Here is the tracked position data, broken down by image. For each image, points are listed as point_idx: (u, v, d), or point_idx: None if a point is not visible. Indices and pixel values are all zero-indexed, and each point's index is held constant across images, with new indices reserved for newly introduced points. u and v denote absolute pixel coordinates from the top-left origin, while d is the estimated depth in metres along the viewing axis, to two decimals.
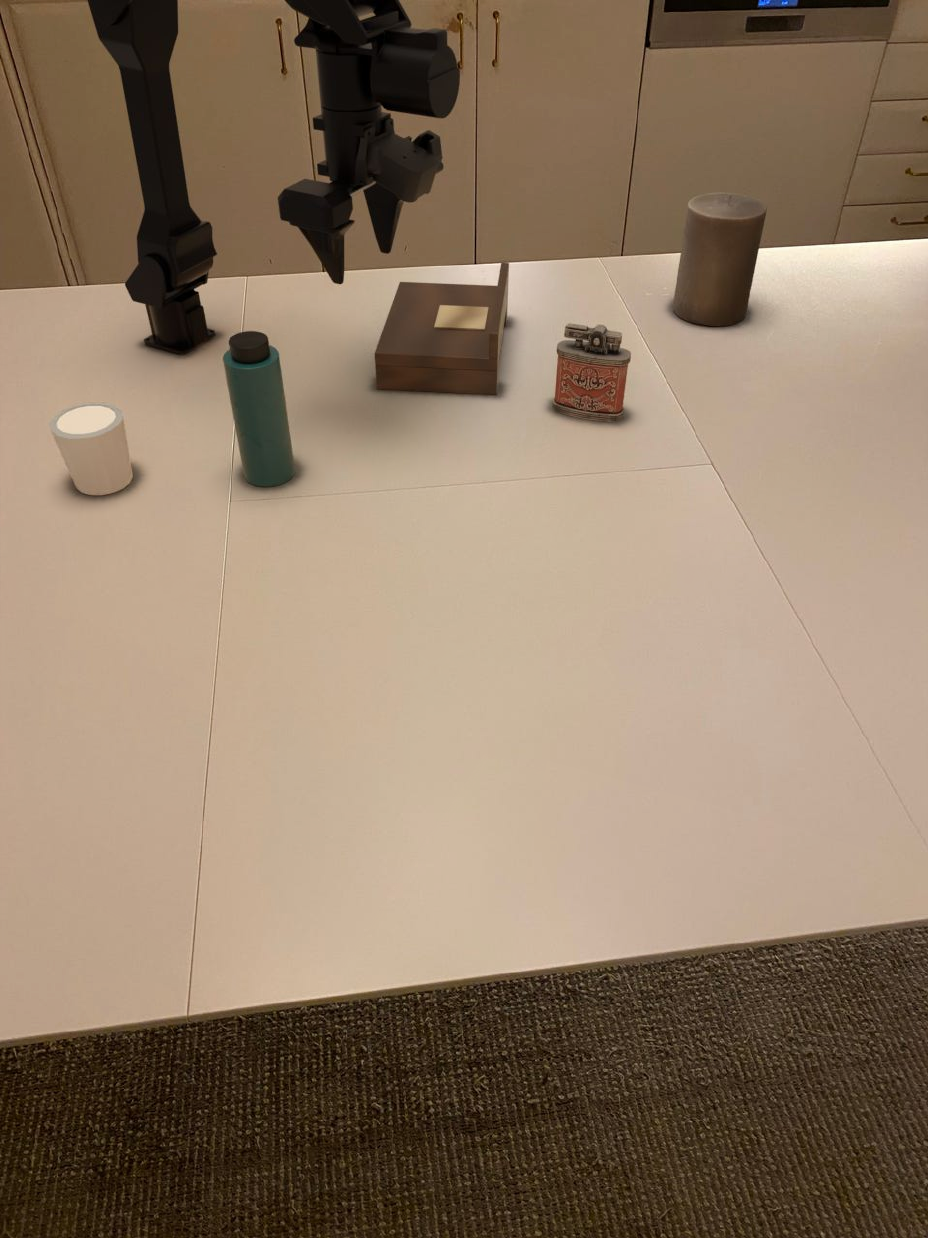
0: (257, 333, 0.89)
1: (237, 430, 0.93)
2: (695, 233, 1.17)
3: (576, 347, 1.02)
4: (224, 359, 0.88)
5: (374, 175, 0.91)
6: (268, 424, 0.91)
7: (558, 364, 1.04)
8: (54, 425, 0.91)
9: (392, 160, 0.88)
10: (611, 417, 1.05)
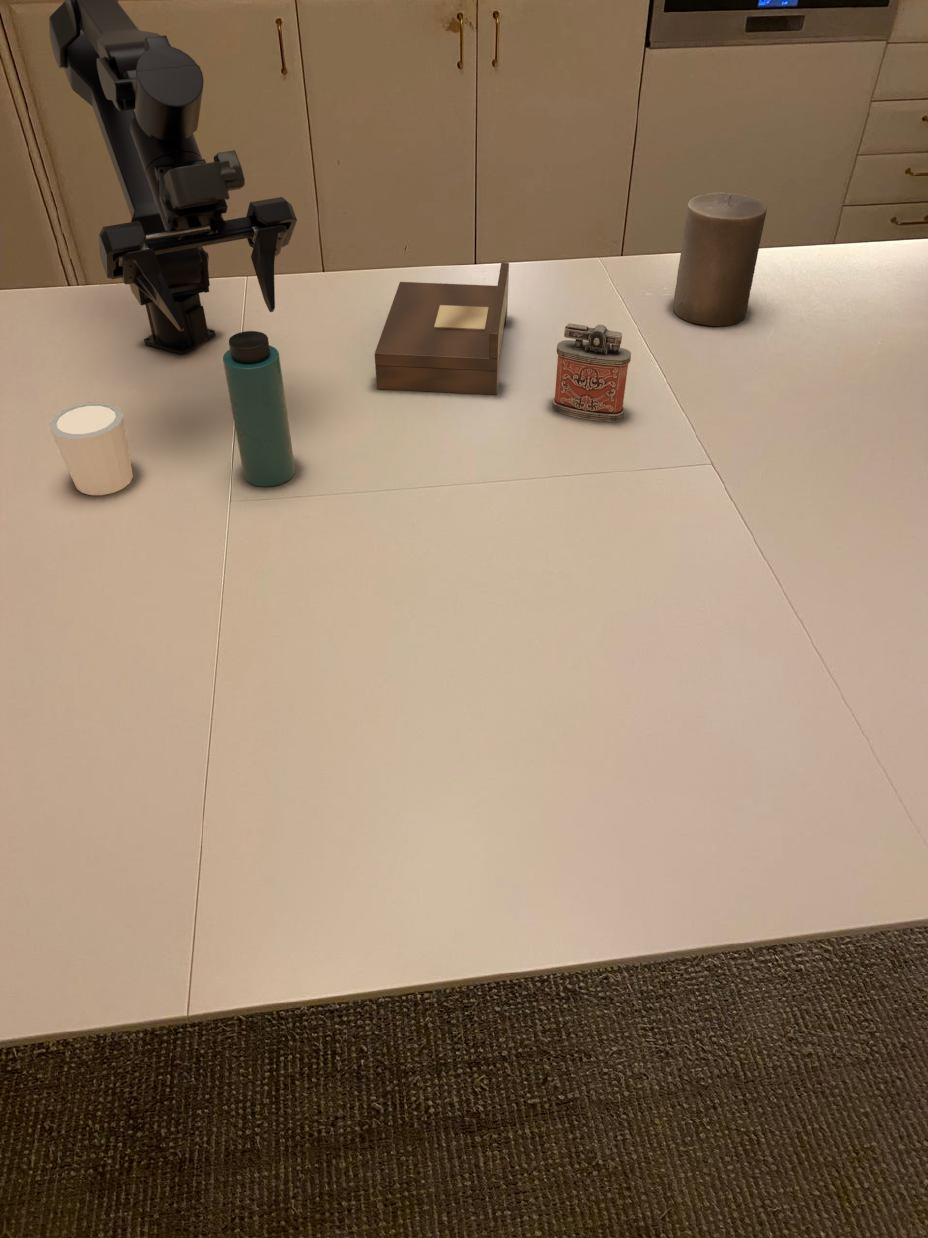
0: (257, 333, 0.89)
1: (237, 430, 0.93)
2: (695, 233, 1.17)
3: (576, 347, 1.02)
4: (224, 359, 0.88)
5: (172, 204, 0.89)
6: (268, 424, 0.91)
7: (558, 364, 1.04)
8: (54, 425, 0.91)
9: (165, 175, 0.87)
10: (611, 417, 1.05)
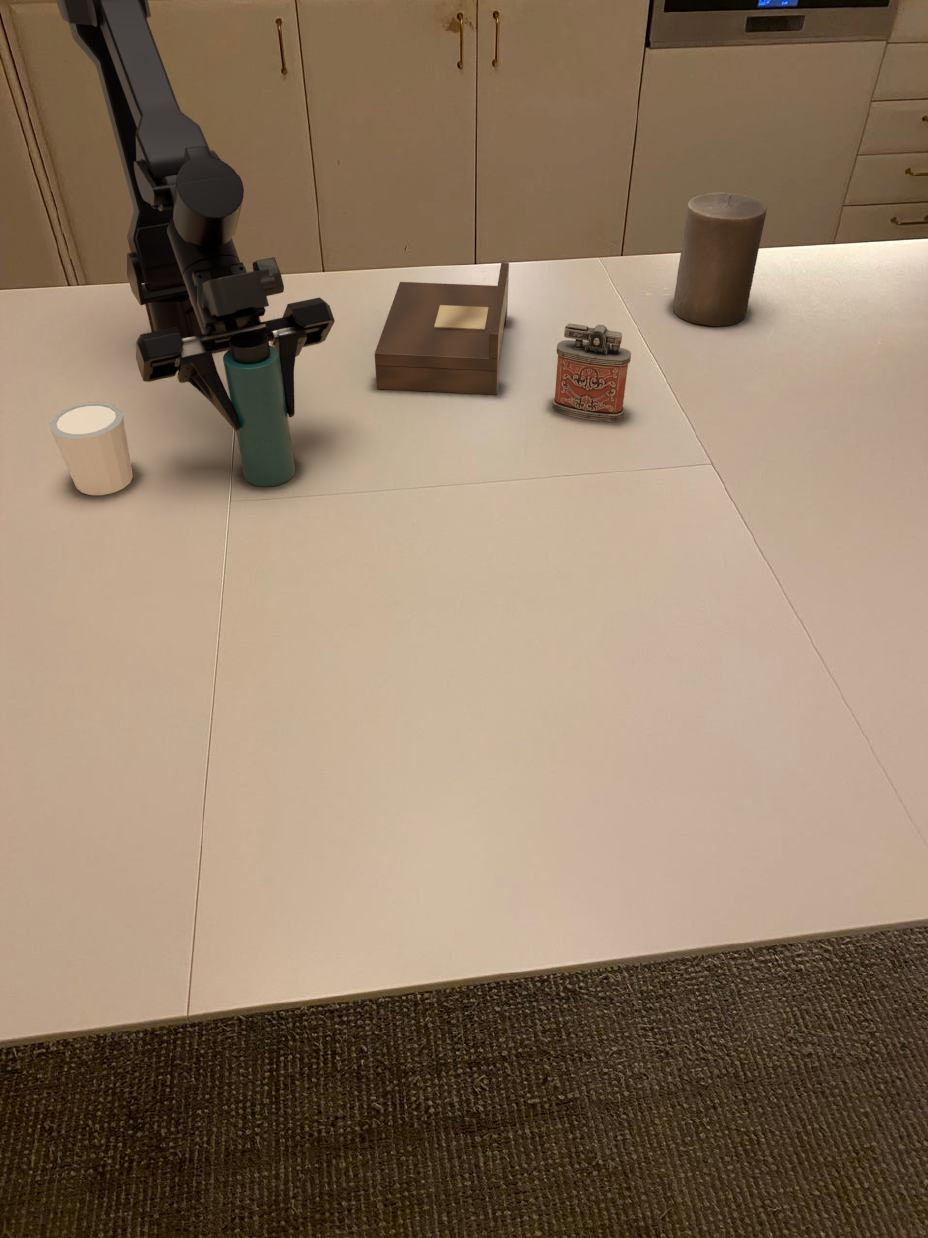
0: (257, 333, 0.89)
1: None
2: (695, 233, 1.17)
3: (576, 347, 1.02)
4: (224, 359, 0.88)
5: (210, 311, 0.88)
6: (268, 424, 0.91)
7: (558, 364, 1.04)
8: (54, 425, 0.91)
9: (204, 283, 0.86)
10: (611, 417, 1.05)
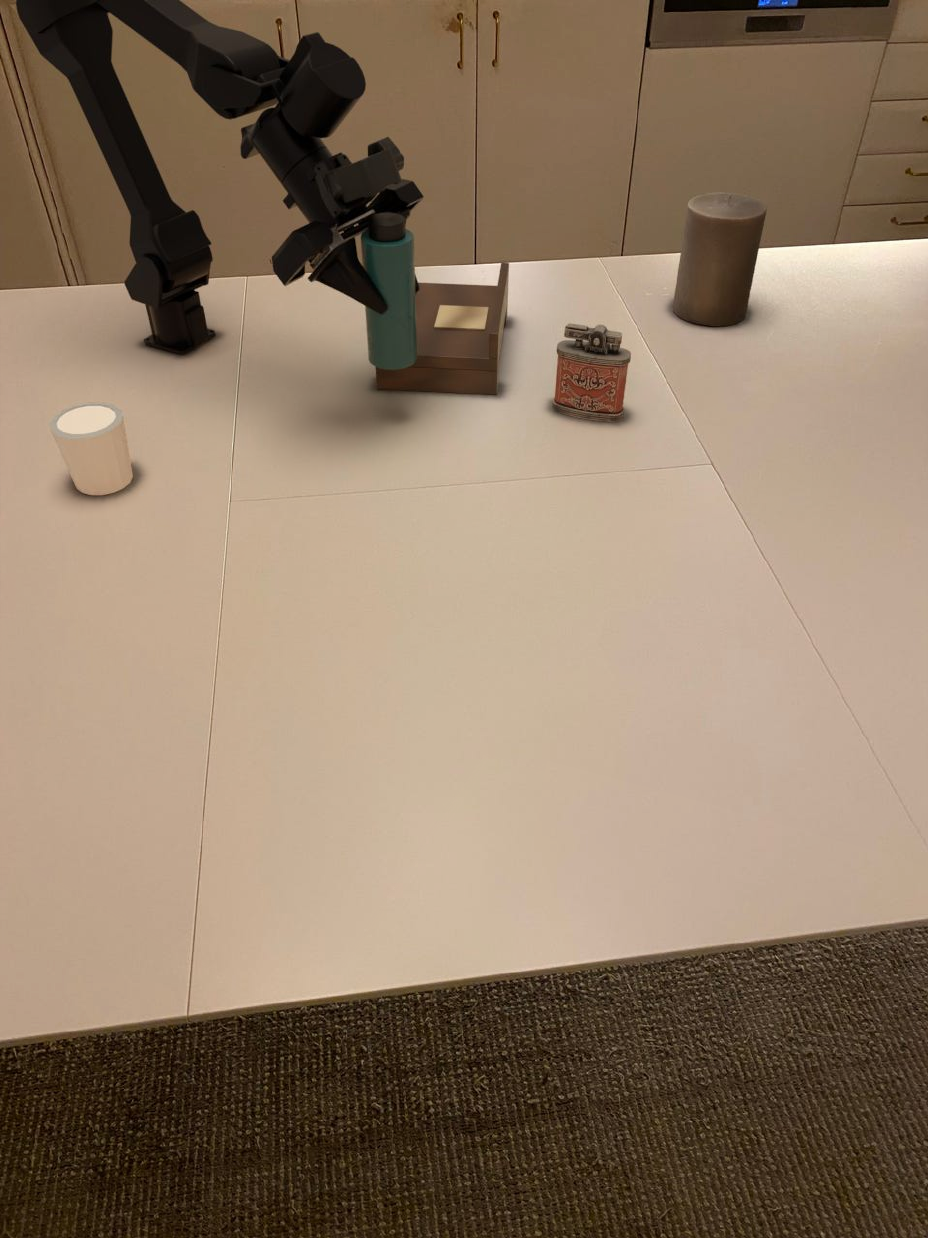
0: (386, 213, 0.93)
1: (378, 315, 0.96)
2: (695, 233, 1.17)
3: (576, 347, 1.02)
4: (369, 242, 0.92)
5: (342, 198, 0.91)
6: (410, 300, 0.96)
7: (558, 364, 1.04)
8: (54, 425, 0.91)
9: (342, 169, 0.89)
10: (611, 417, 1.05)
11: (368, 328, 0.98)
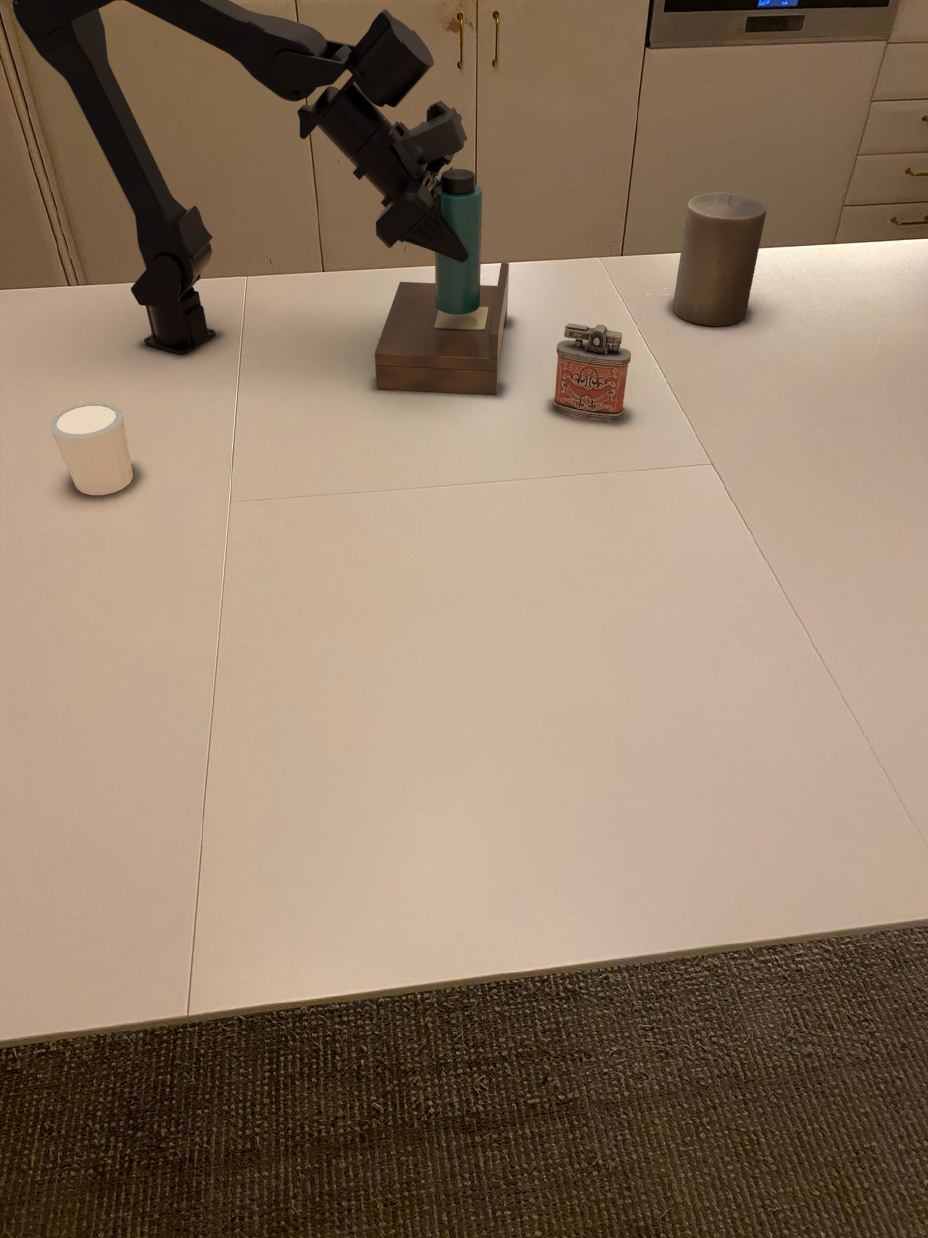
0: (452, 170, 1.03)
1: (457, 264, 1.06)
2: (695, 233, 1.17)
3: (576, 347, 1.02)
4: (451, 197, 1.01)
5: (423, 160, 0.99)
6: (480, 246, 1.07)
7: (558, 364, 1.04)
8: (54, 425, 0.91)
9: (425, 132, 0.97)
10: (611, 417, 1.05)
11: (443, 279, 1.07)
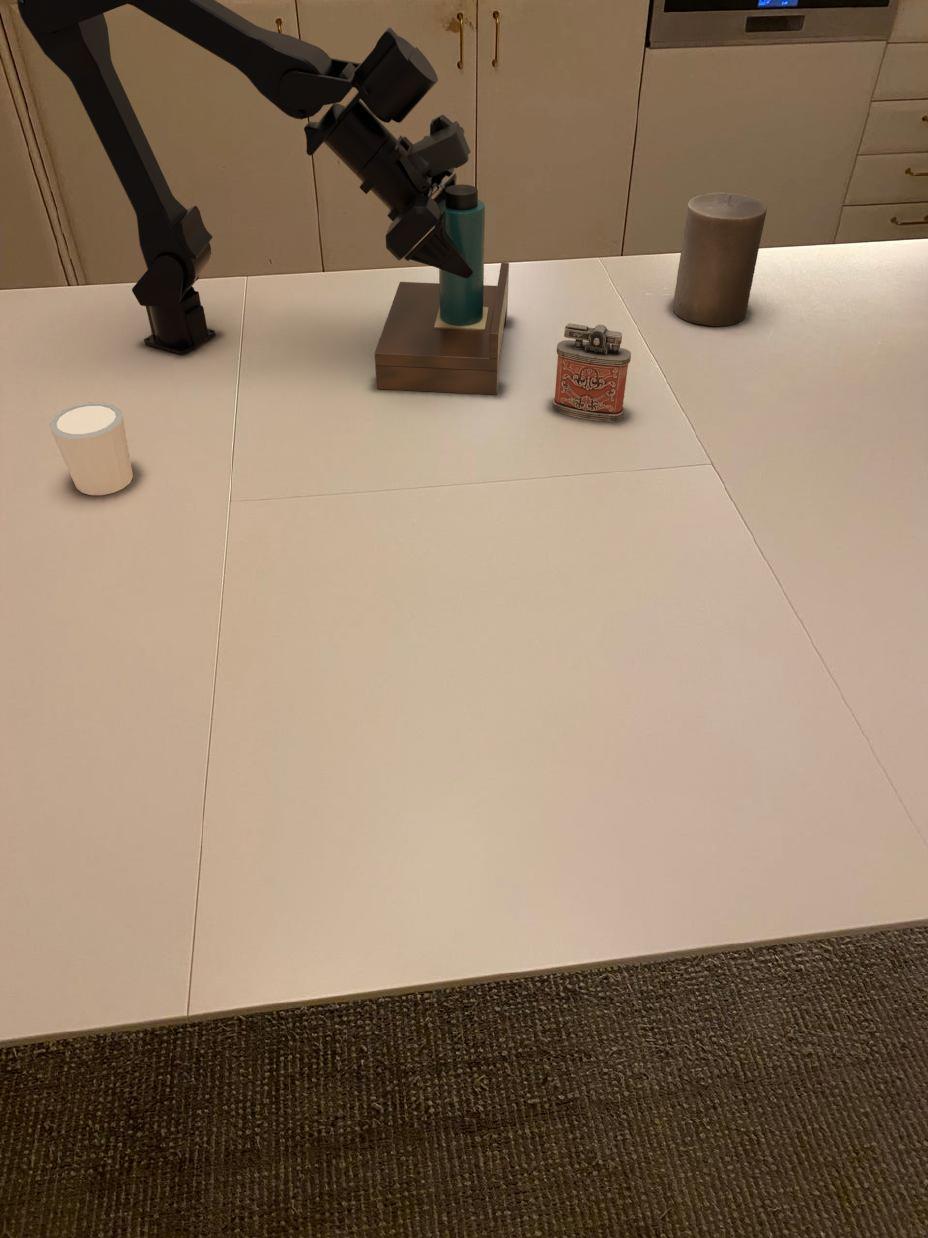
0: (455, 185, 1.05)
1: (462, 277, 1.09)
2: (695, 233, 1.17)
3: (576, 347, 1.02)
4: (456, 212, 1.04)
5: (429, 173, 1.02)
6: (483, 259, 1.09)
7: (558, 364, 1.04)
8: (54, 425, 0.91)
9: (431, 146, 1.00)
10: (611, 417, 1.05)
11: (448, 291, 1.10)
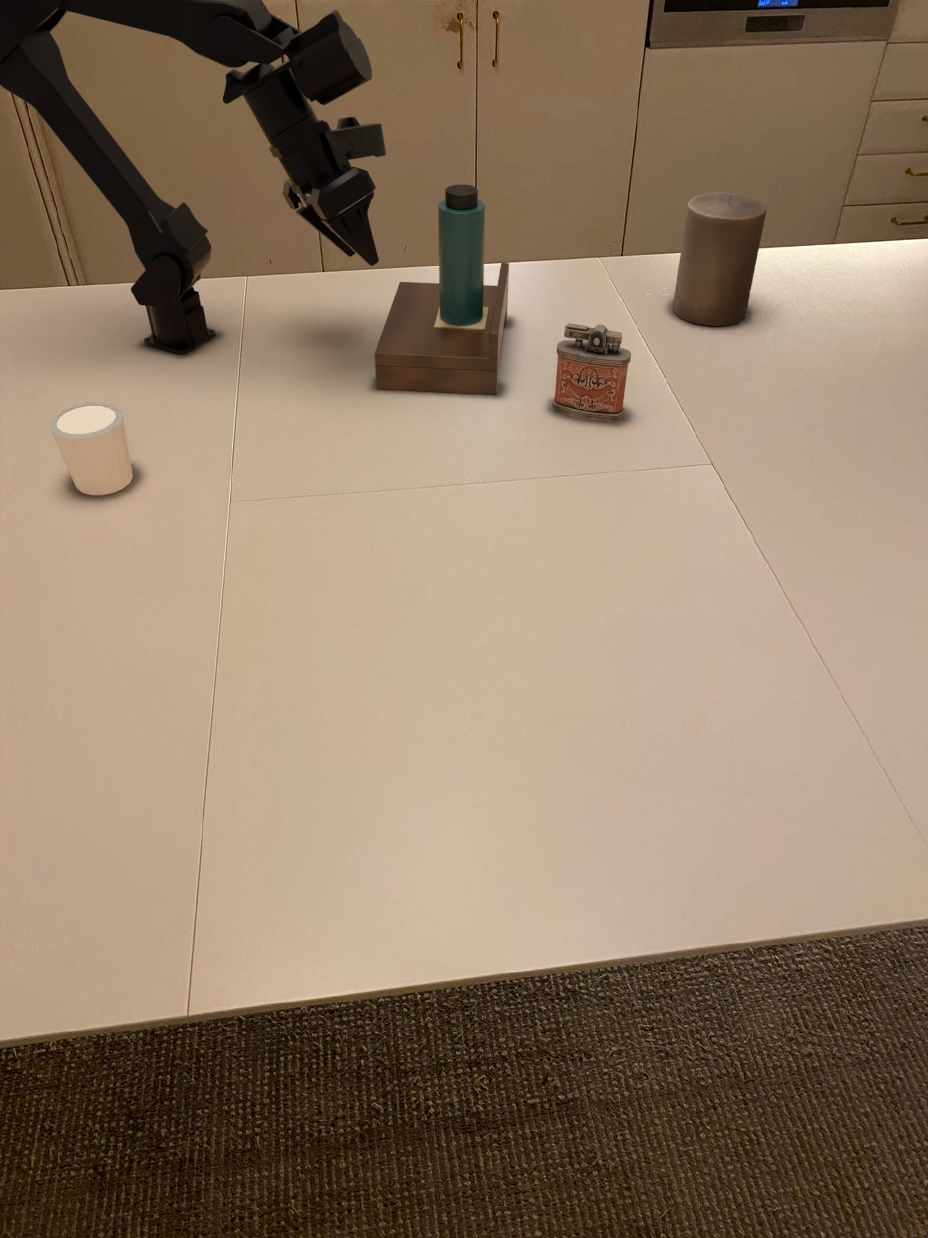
0: (455, 185, 1.05)
1: (462, 277, 1.09)
2: (695, 233, 1.17)
3: (576, 347, 1.02)
4: (456, 212, 1.04)
5: (349, 155, 1.02)
6: (483, 259, 1.09)
7: (558, 364, 1.04)
8: (54, 425, 0.91)
9: (358, 128, 1.01)
10: (611, 417, 1.05)
11: (448, 291, 1.10)
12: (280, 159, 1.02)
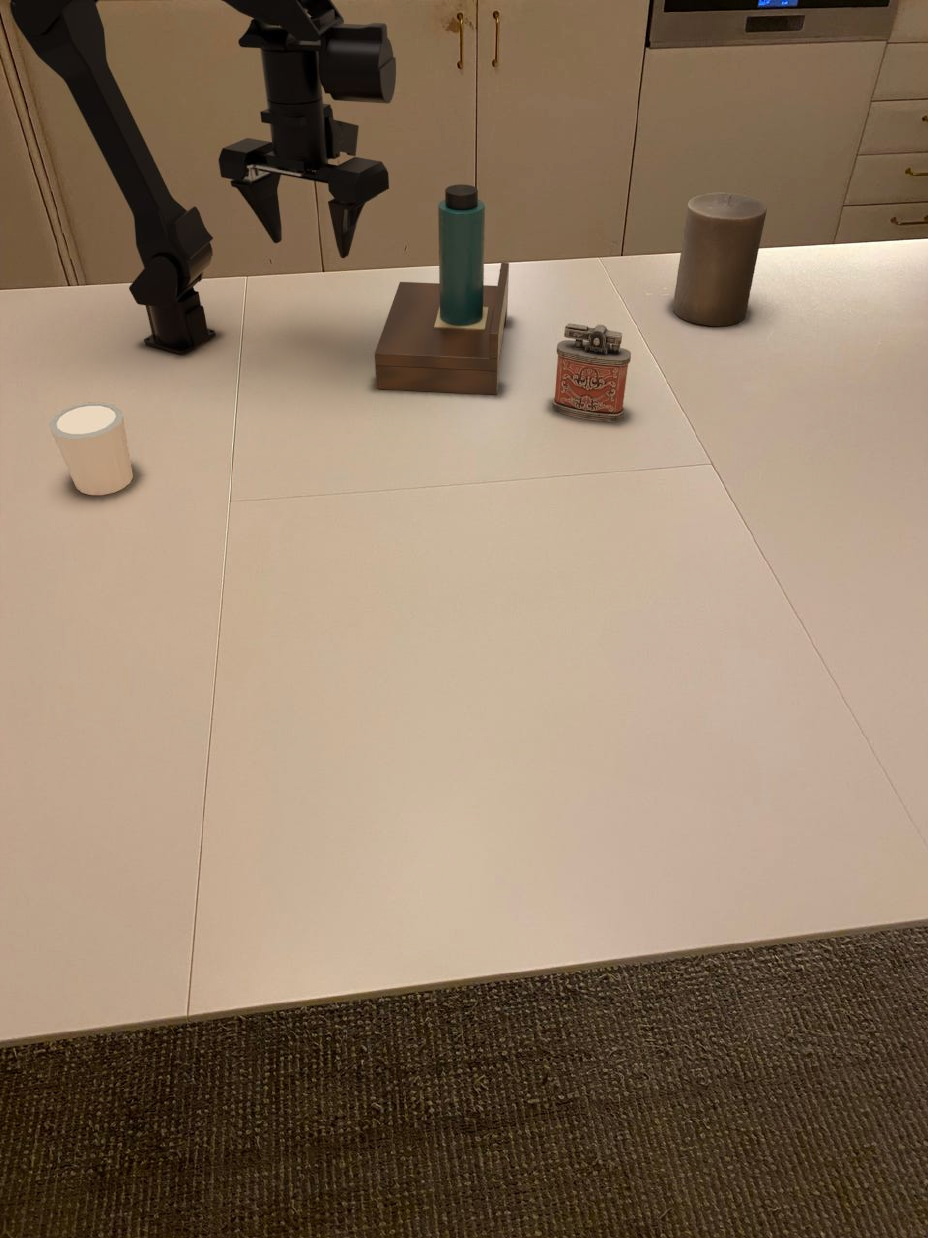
0: (455, 185, 1.05)
1: (462, 277, 1.09)
2: (695, 233, 1.17)
3: (576, 347, 1.02)
4: (456, 212, 1.04)
5: None
6: (483, 259, 1.09)
7: (558, 364, 1.04)
8: (54, 425, 0.91)
9: (348, 124, 1.03)
10: (611, 417, 1.05)
11: (448, 291, 1.10)
12: (284, 128, 0.97)
